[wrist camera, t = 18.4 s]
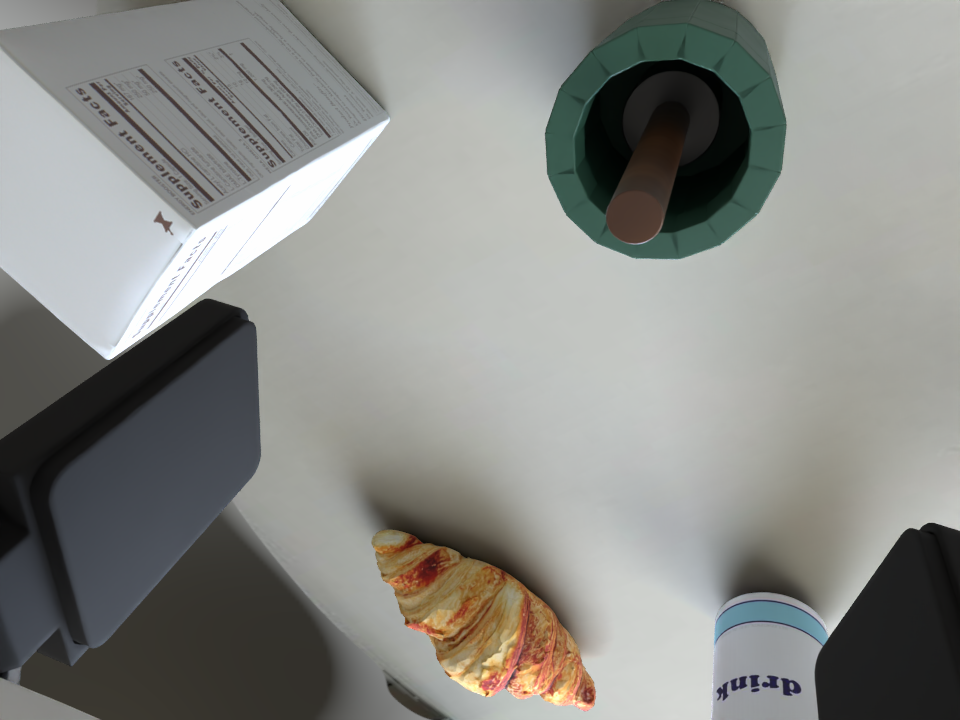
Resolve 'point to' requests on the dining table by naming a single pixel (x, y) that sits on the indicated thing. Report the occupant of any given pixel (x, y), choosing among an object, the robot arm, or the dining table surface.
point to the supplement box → (164, 154)
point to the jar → (697, 186)
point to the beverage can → (766, 658)
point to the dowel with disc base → (662, 143)
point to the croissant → (483, 623)
